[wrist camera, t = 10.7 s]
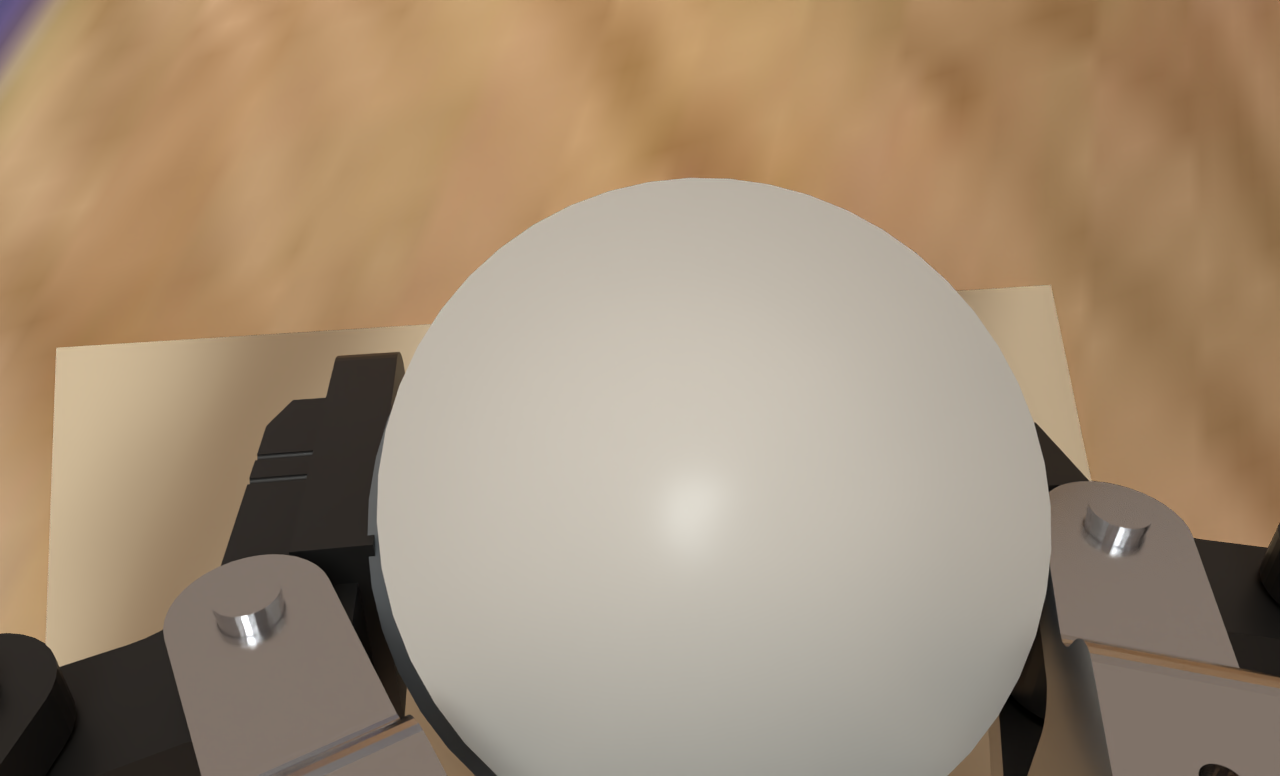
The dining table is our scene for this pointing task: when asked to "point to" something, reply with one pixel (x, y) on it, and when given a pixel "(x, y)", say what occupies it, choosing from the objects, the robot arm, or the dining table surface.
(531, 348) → the grey banded cylinder
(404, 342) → the oak board
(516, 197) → the dining table surface
